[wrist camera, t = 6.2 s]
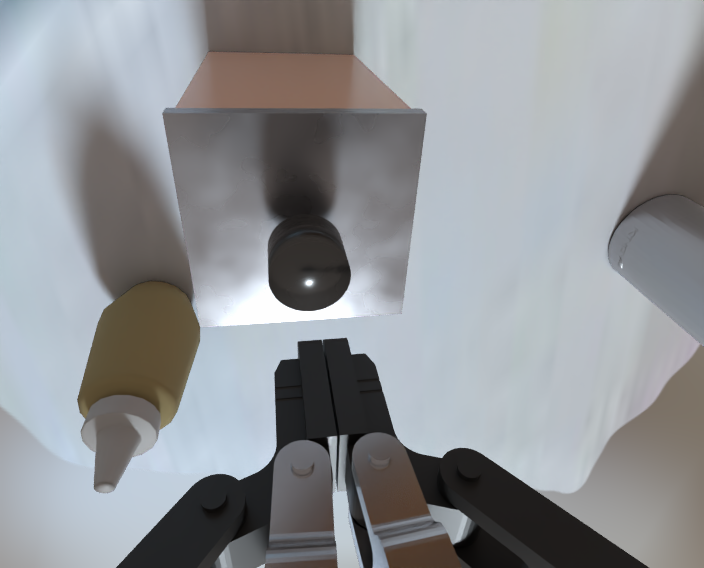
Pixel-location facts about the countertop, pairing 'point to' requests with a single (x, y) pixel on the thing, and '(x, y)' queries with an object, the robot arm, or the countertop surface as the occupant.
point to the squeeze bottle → (135, 375)
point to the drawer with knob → (295, 209)
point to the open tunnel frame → (286, 82)
